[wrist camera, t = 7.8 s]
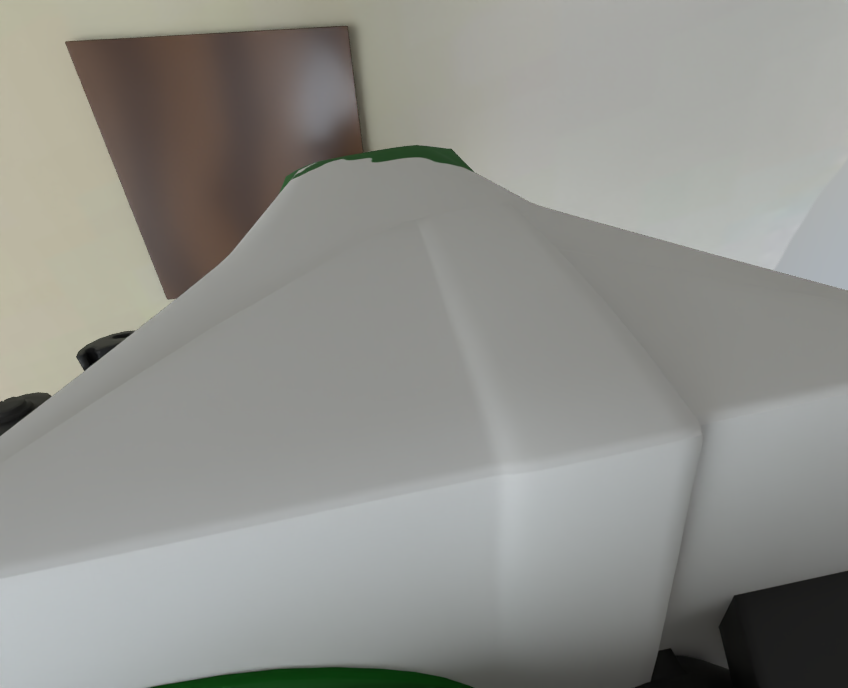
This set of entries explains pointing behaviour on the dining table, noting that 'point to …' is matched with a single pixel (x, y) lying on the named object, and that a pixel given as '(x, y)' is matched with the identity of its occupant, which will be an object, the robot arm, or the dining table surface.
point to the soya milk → (427, 453)
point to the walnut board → (216, 130)
